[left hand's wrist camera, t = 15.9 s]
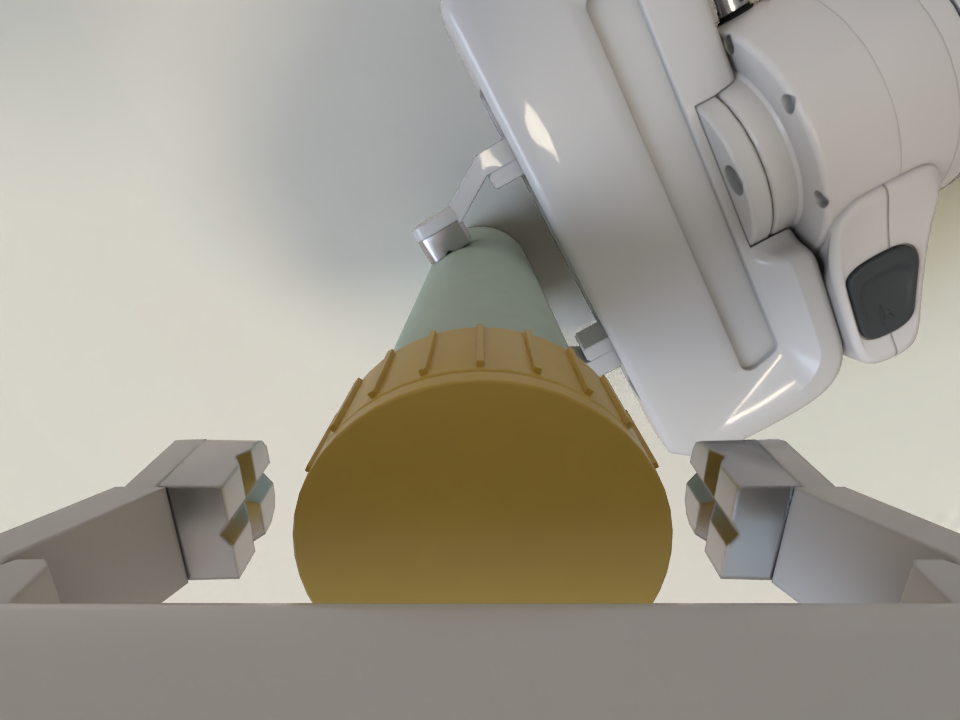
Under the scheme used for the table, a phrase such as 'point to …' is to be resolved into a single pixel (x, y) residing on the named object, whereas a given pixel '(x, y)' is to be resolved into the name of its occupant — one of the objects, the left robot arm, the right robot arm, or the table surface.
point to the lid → (482, 482)
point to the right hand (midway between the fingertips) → (462, 313)
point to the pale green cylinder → (482, 292)
